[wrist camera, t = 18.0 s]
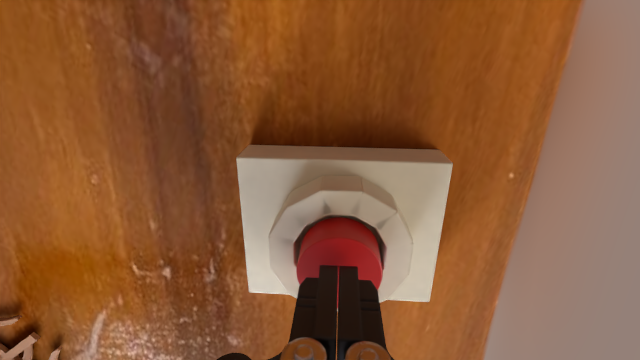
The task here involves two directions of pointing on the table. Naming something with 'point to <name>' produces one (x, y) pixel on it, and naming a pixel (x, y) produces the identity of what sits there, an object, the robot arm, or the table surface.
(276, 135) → the table surface
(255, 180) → the switch box
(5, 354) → the emblem
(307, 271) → the button
